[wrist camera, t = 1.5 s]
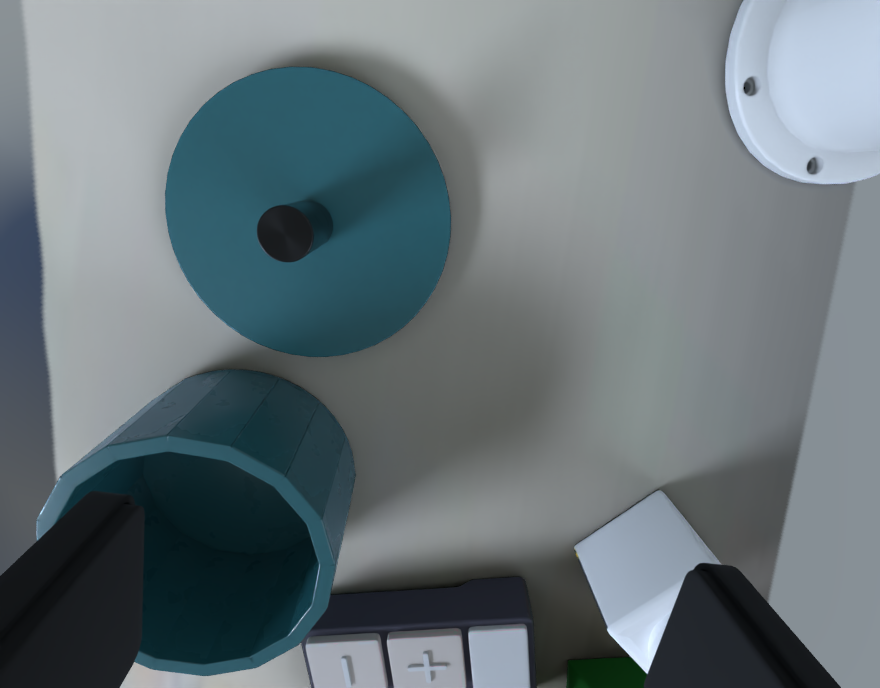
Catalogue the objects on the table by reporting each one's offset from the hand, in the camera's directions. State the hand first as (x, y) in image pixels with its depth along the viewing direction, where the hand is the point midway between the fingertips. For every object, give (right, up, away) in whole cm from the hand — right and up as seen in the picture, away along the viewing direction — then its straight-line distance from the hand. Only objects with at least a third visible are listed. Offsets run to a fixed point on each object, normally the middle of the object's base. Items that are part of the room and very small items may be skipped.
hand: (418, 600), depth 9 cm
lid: (-6, +11, +18) cm, 22 cm away
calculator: (-1, -17, +28) cm, 33 cm away
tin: (-12, -4, +23) cm, 26 cm away
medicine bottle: (+14, -10, +26) cm, 32 cm away
